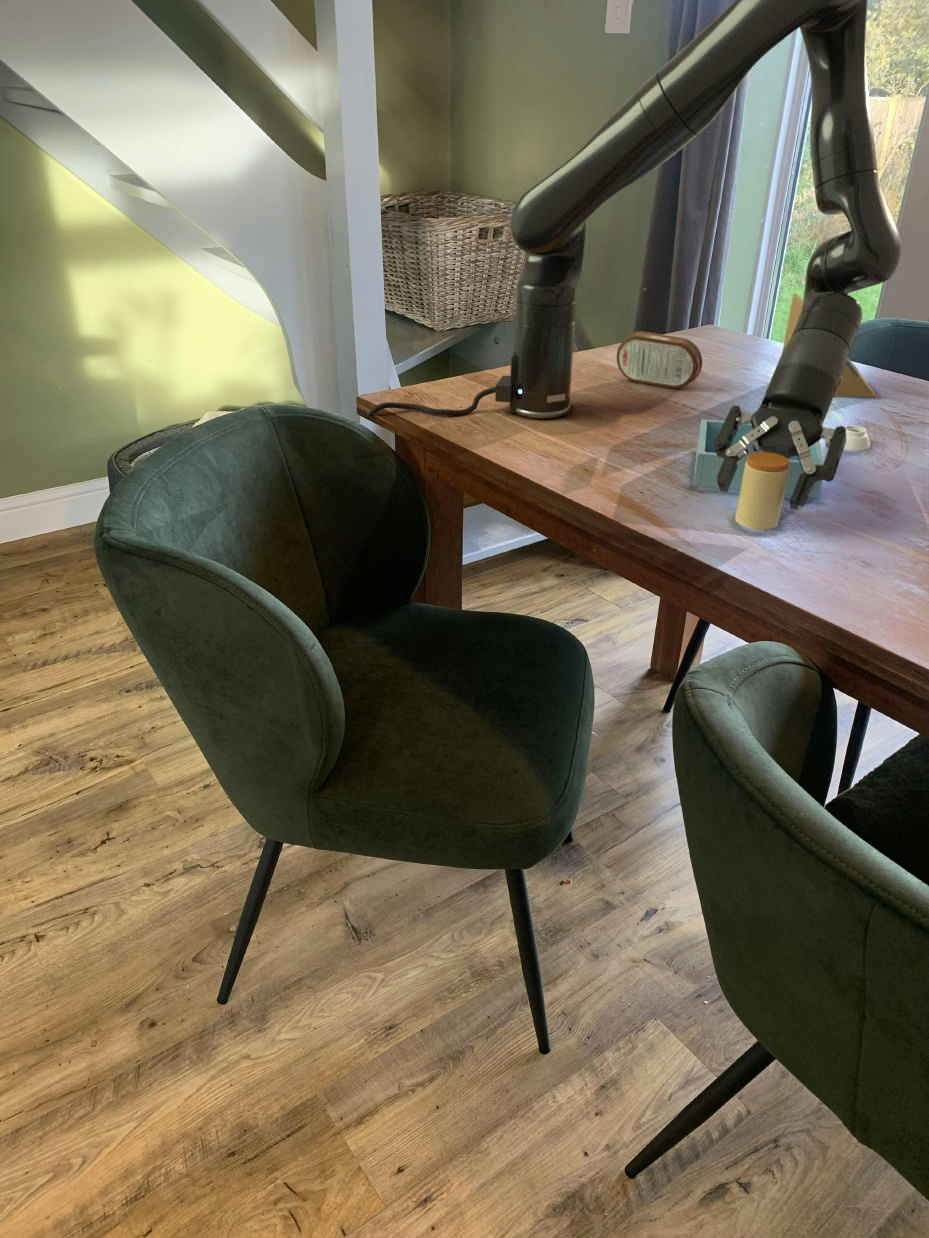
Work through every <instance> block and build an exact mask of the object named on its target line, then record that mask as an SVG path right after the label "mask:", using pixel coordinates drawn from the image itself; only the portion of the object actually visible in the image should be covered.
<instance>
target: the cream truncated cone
mask: <svg viewBox="0 0 929 1238" xmlns="http://www.w3.org/2000/svg"><path fill="white" fill-rule="evenodd" d="M844 427H845V429H846V443H845V446H844V449H843V450H846V451H852V452H863V451H867V450H869V449H870V448H871V444H870V439H869V436H868V434H867V429H866V428H865V427H863V426H861V425H855V424H854V425H853V424H848V425H845V426H844Z"/></svg>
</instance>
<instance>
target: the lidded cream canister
mask: <svg viewBox="0 0 929 1238" xmlns="http://www.w3.org/2000/svg"><path fill="white" fill-rule="evenodd" d="M789 469H790V467H789V460H788V459H787V458H786V457H784V456H782V455H779V454H776V453H770V452H757V453H753V454H750V455H749V457H748V460H747V461H746V462H745V468H744V473H743V479H742V484H741V490H740V491H739V495H738V501H737V506H736V512H735V517H734V519H735V522H736V523H737V524H738V525H740V526H741V527H745V528H747V529H751V530H756V531H766V530H767V531H768V530H773V529H775V528H777V526H778V525H779V521H780V516H781V512H782V507H783V502H784V497H785V495H784V493H785V488H786V484H787V479H788V474H789Z"/></svg>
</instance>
